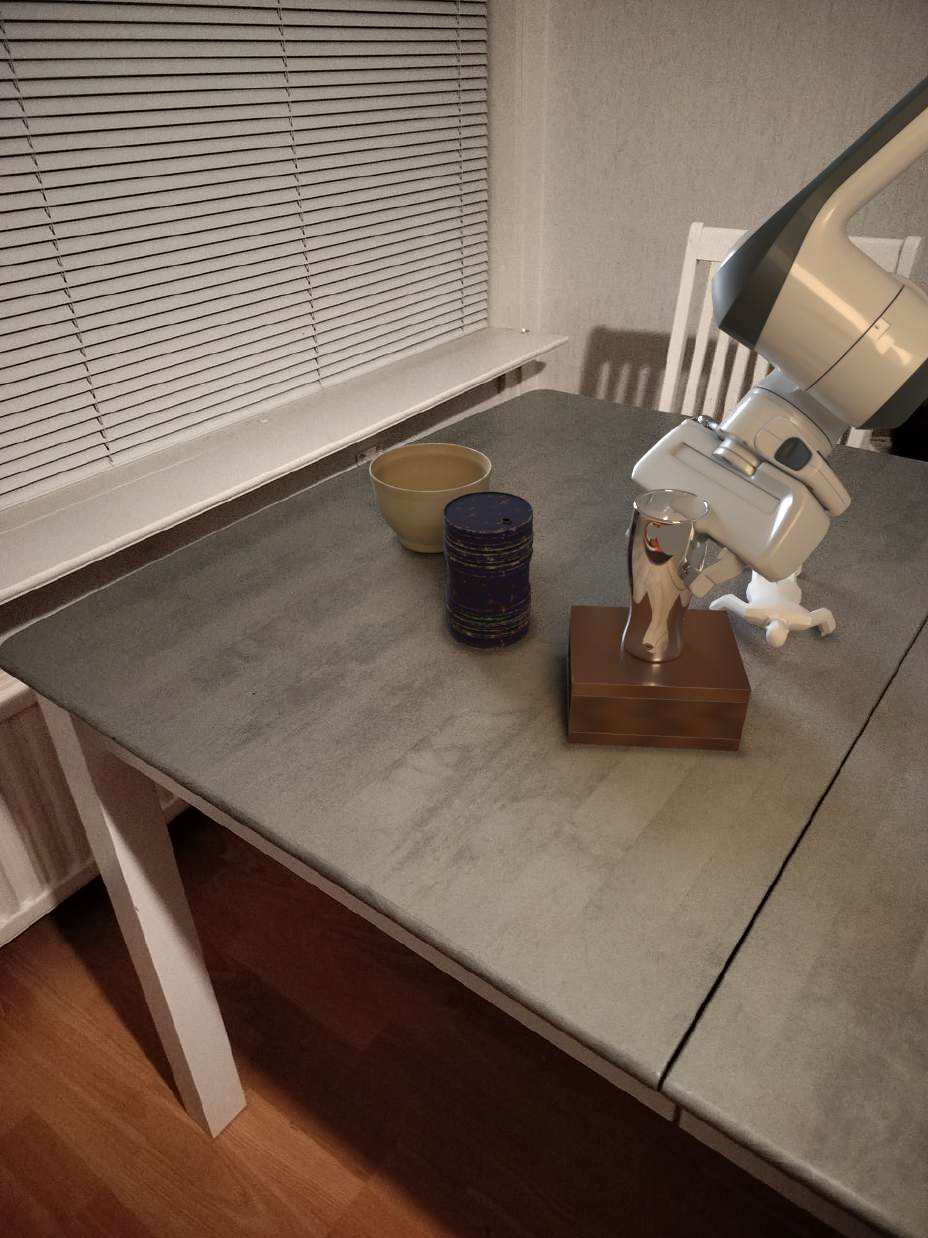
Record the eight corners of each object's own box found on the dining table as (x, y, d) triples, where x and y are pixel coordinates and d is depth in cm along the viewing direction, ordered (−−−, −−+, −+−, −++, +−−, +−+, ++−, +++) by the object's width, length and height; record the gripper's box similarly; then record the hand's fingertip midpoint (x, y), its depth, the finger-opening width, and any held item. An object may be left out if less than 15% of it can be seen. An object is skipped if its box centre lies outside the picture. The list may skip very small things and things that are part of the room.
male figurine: (712, 577, 108) (701, 663, 86) (720, 533, 105) (710, 610, 84) (823, 593, 104) (840, 687, 83) (834, 547, 102) (854, 632, 80)
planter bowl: (493, 566, 108) (494, 489, 102) (370, 568, 108) (363, 492, 102) (489, 510, 121) (489, 440, 115) (380, 512, 121) (374, 442, 115)
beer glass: (604, 650, 79) (618, 510, 71) (634, 616, 84) (650, 481, 76) (673, 674, 76) (696, 530, 68) (700, 637, 81) (724, 498, 72)
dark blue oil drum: (429, 623, 97) (423, 509, 89) (491, 593, 102) (491, 482, 94) (485, 661, 91) (484, 542, 82) (548, 627, 96) (553, 512, 87)
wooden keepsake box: (715, 668, 89) (726, 610, 85) (737, 751, 78) (751, 690, 74) (566, 662, 90) (570, 605, 86) (568, 743, 80) (572, 682, 75)
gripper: (679, 390, 78) (583, 502, 81) (836, 469, 63) (710, 606, 65) (711, 427, 82) (618, 533, 85) (867, 511, 67) (747, 638, 69)
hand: (659, 566), depth 75 cm, fingers open, 8 cm apart
